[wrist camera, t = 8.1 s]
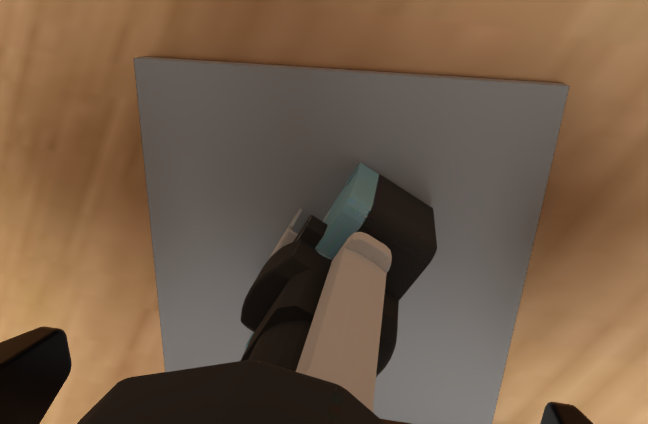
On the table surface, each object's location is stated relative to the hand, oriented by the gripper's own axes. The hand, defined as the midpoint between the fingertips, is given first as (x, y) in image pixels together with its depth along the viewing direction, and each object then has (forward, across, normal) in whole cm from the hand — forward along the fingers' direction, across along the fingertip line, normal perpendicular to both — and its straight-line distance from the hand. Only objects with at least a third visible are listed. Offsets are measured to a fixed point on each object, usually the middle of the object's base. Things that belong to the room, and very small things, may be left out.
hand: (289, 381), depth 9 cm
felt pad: (+5, 0, 0) cm, 5 cm away
